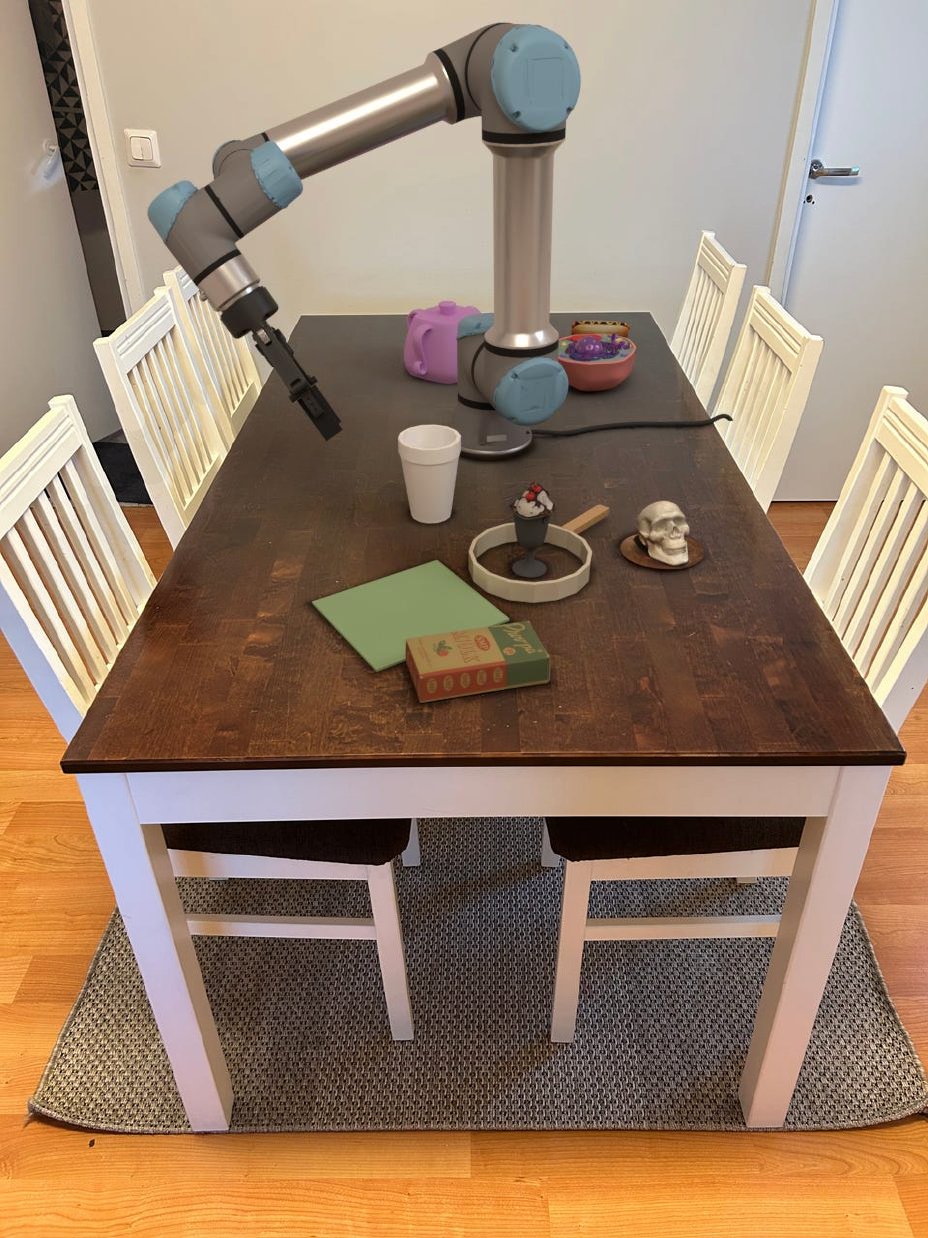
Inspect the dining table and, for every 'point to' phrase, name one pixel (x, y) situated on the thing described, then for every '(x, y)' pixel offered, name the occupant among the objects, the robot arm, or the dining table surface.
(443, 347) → the teapot
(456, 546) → the dining table surface
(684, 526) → the skull
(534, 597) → the pan
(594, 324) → the hot dog
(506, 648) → the carton
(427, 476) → the foam cup
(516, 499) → the sundae
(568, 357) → the cell model
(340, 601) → the mat
